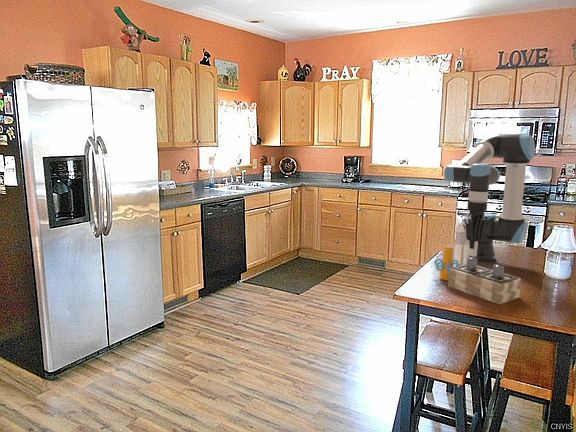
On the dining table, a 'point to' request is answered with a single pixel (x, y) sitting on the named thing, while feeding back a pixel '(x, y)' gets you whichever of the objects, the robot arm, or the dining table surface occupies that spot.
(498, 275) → the peg
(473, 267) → the peg
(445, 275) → the ringed orange tube
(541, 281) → the dining table surface
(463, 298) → the dining table surface
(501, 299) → the socket block
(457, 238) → the water bottle
